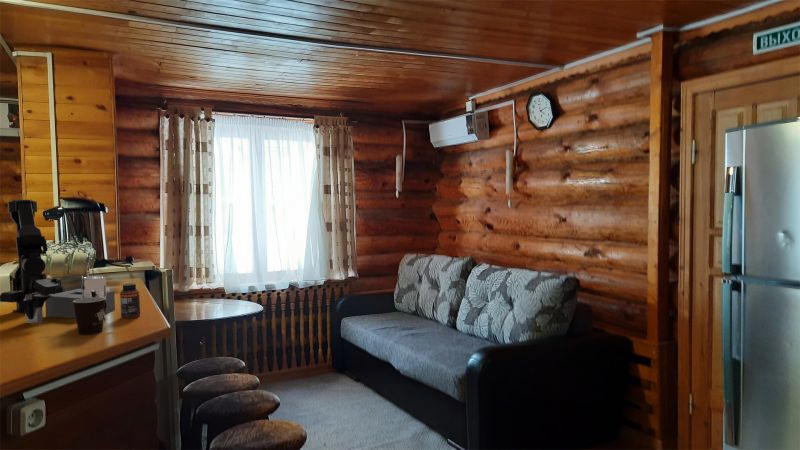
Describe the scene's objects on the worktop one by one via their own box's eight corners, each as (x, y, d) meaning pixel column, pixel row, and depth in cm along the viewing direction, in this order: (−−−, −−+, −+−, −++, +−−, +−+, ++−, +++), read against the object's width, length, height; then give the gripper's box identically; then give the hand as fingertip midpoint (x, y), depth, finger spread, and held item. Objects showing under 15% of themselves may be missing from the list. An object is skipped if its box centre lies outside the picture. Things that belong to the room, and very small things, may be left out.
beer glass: (97, 325, 183) (95, 279, 182) (78, 324, 184) (76, 278, 183) (112, 320, 190) (110, 275, 189) (94, 319, 191) (92, 275, 190)
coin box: (45, 316, 197) (45, 295, 196) (79, 307, 210) (78, 288, 209) (83, 319, 192) (82, 298, 192) (115, 310, 205) (114, 290, 205)
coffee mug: (84, 337, 169) (83, 304, 168) (68, 333, 174) (67, 300, 173) (121, 328, 179) (120, 297, 178) (105, 325, 183) (104, 294, 183)
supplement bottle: (134, 314, 199) (133, 282, 198) (143, 316, 196) (142, 283, 195) (117, 317, 194) (116, 284, 194) (126, 319, 191) (125, 286, 190)
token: (25, 322, 188) (24, 307, 187) (31, 321, 189) (30, 306, 189) (37, 323, 186) (36, 308, 186) (42, 322, 188) (42, 307, 188)
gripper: (24, 276, 175) (27, 327, 176) (75, 268, 193) (77, 313, 194) (-3, 275, 179) (-1, 324, 180) (49, 267, 196) (51, 311, 197)
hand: (34, 318), depth 188 cm, fingers closed on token, 2 cm apart
